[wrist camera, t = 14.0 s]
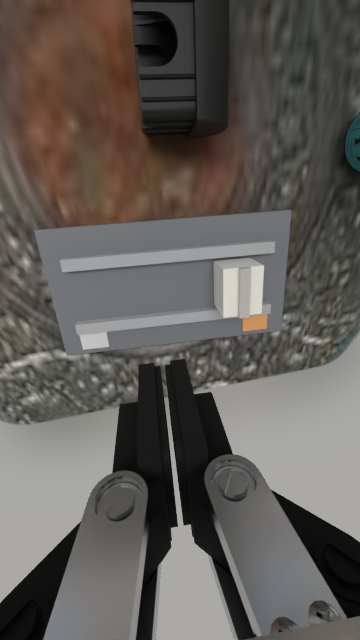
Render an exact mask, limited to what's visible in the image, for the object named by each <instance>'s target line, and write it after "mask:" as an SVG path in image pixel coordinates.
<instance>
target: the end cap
mask: <svg viewBox="0 0 360 640" xmlns="http://www.w3.org/2000/svg"><path fill="white" fill-rule="evenodd" d="M131 7H132V21H133V32H134V44H135V55H136V66H137V77H138V88H139V100H140V111H141V122H142V130H143V132H144V133H145V134H146V135H177V134H186V138H198V137H205V136H210V135H215V134H218V133H220V132H222V131H224V130H225V129H226V128H227V126H228V68H229V0H131Z"/></svg>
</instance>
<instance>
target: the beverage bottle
mask: <svg viewBox="0 0 360 640" xmlns="http://www.w3.org/2000/svg"><path fill="white" fill-rule="evenodd" d="M345 152H346V157H347V160H348V162H349V163H350V165H351V166H352V167H353V168H354V169H356V170H358V171H359V172H360V113H359V114H358V115H357V116H356V118H355V119H354V121H353V122H352V124H351V126H350V128H349V130H348V133H347V137H346V143H345Z"/></svg>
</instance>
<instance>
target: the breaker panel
mask: <svg viewBox="0 0 360 640" xmlns="http://www.w3.org/2000/svg"><path fill="white" fill-rule="evenodd" d="M290 221H291V210H272V211H260V212H247V213H234V214H222V215H209V216H196V217H184V218H171V219H158V220H146V221H133V222H120V223H108V224H95V225H82V226H69V227H57V228H44V229H37V230H34V232H35V236H36V240H37V244H38V247H39V251H40V255H41V259H42V263H43V267H44V270H45V274H46V278H47V282H48V286H49V289H50V293H51V297H52V301H53V305H54V308H55V312H56V316H57V320H58V324H59V328H60V331H61V335H62V339H63V343H64V347H65V350H66V354H67V355H76V354H84V353H93V352H102V351H110V350H119V349H127V348H136V347H144V346H153V345H162V344H170V343H179V342H187V341H196V340H204V339H213V338H222V337H230V336H239V335H247V334H256V333H264V332H273V331H281V326H282V315H283V303H284V291H285V280H286V268H287V256H288V245H289V233H290ZM240 258H251V259H253V260H255V261H257V262H259V263H261V264H263V265H264V278H263V297H262V314H254V315H250V316H249V318H241V319H240V318H239V317H238V316H236V317H227V318H223V316H222V315H221V314H220V312H219V311H218V309H217V308H216V306H215V305H214V261H218V260H229V259H240Z"/></svg>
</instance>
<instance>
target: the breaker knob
mask: <svg viewBox="0 0 360 640" xmlns="http://www.w3.org/2000/svg"><path fill="white" fill-rule="evenodd" d="M263 278H264V265H263V264H261V263H259V262H257V261H255V260H253V259H251V258H240V259H229V260H218V261H214V305H215V306H216V308H217V309H218V311H219V312H220V314H221V315H222V316H223V318H227V317H236V316H238V317H239V318H240V319H241V318H249V316H250V315H254V314H262V297H263Z"/></svg>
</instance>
